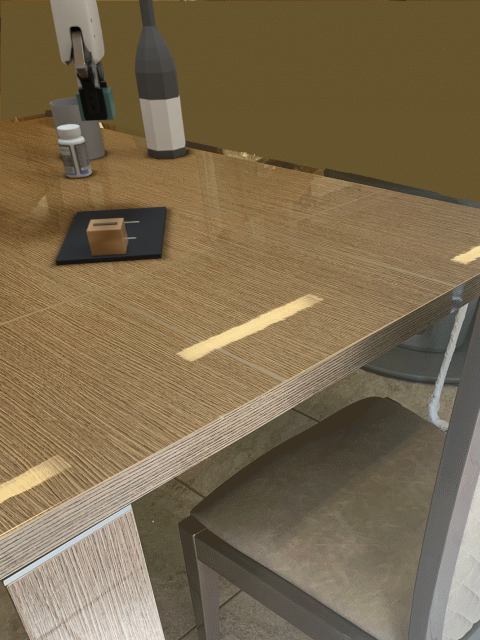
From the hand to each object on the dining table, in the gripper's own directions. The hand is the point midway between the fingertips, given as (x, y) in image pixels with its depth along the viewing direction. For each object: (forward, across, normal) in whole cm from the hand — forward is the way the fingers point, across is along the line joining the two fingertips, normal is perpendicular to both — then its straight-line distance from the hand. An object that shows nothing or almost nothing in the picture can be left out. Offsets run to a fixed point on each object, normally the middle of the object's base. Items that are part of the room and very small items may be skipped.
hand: (98, 114), depth 94 cm
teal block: (0, 0, 0) cm, 0 cm away
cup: (+15, -38, -10) cm, 42 cm away
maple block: (+14, +16, 0) cm, 22 cm away
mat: (+15, +9, 0) cm, 17 cm away
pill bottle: (+15, -24, -9) cm, 29 cm away
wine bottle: (+15, -36, +7) cm, 39 cm away
